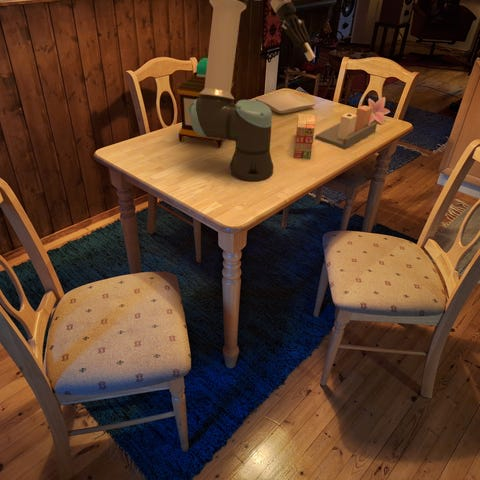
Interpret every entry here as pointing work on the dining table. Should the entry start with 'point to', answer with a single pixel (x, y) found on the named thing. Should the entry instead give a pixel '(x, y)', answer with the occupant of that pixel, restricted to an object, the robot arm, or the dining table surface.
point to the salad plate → (285, 102)
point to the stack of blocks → (304, 136)
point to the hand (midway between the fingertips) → (312, 58)
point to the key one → (347, 125)
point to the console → (332, 137)
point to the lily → (378, 110)
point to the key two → (362, 117)
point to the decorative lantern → (188, 94)
